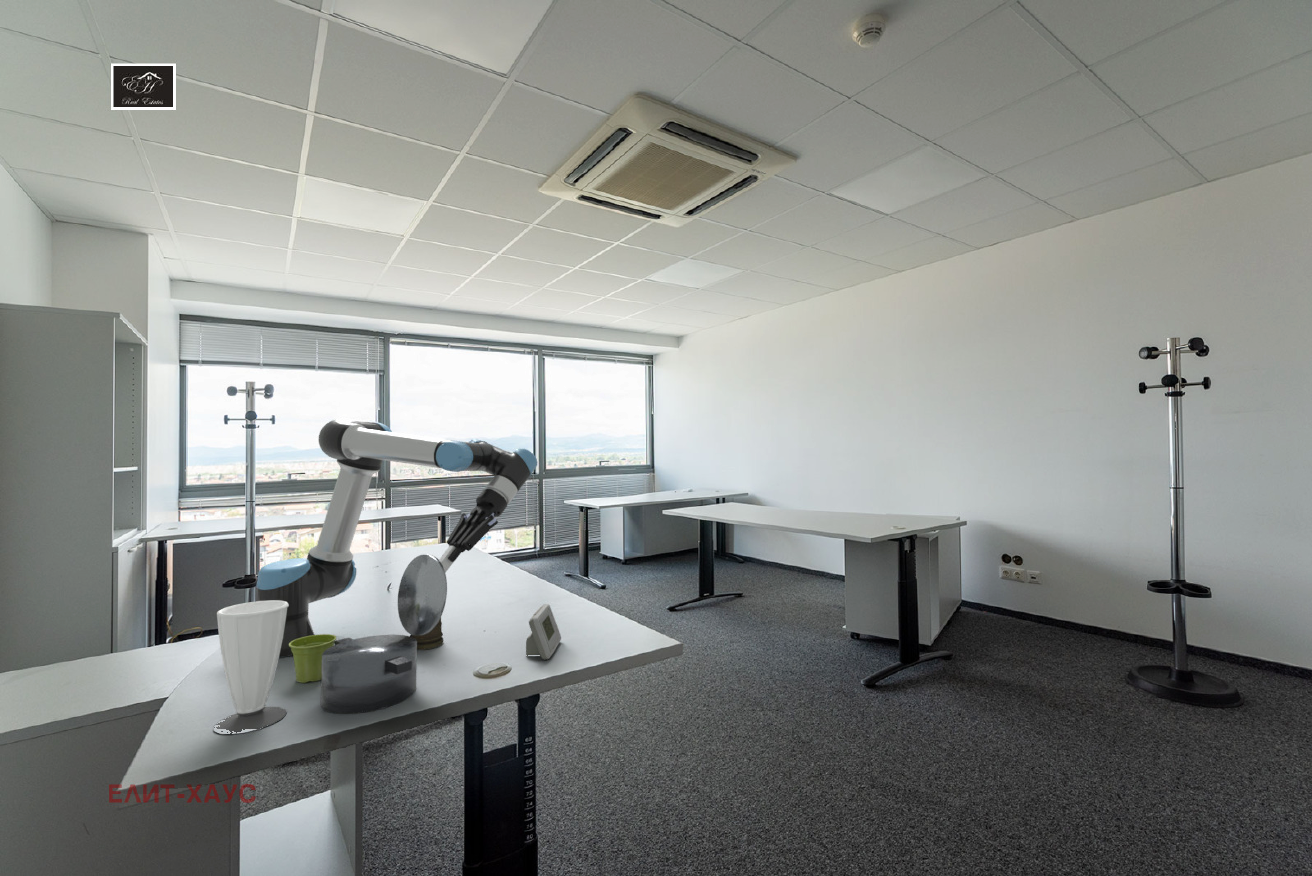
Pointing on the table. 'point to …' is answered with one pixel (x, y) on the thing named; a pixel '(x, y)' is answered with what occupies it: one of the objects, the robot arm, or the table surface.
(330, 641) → the plant pot
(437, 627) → the container
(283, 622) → the cup
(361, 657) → the cooking pot
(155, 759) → the table surface
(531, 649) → the digital clock
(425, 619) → the pot lid
